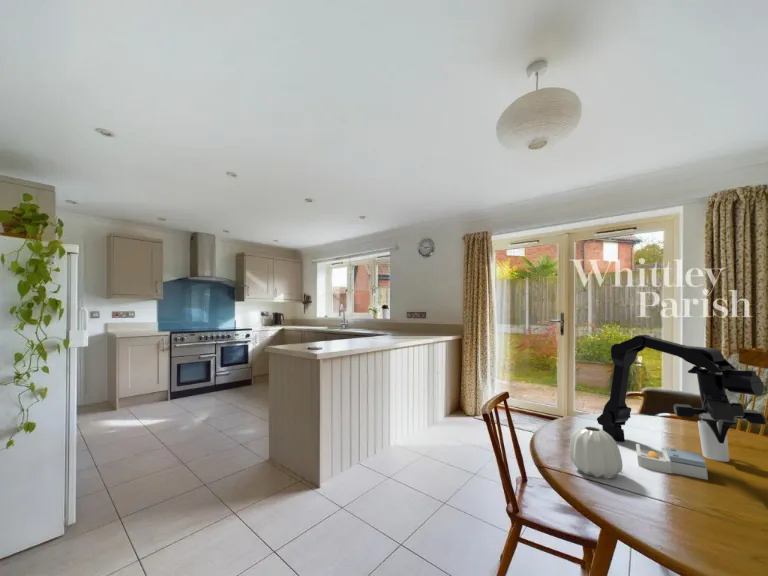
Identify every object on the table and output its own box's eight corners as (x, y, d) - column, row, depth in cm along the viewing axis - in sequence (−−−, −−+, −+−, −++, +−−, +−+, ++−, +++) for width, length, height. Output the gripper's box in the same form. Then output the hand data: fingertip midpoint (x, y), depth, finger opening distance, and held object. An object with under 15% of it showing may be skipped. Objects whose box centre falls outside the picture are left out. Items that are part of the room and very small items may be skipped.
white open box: (639, 469, 101) (637, 456, 101) (636, 450, 115) (635, 439, 115) (709, 483, 91) (707, 469, 92) (696, 461, 105) (695, 449, 106)
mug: (729, 466, 102) (724, 428, 103) (700, 459, 107) (695, 423, 109) (733, 458, 108) (728, 422, 109) (705, 451, 113) (701, 417, 114)
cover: (670, 460, 97) (669, 455, 97) (667, 451, 104) (666, 447, 104) (706, 467, 92) (705, 461, 93) (700, 457, 99) (700, 452, 99)
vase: (606, 487, 90) (602, 439, 92) (561, 468, 103) (558, 425, 104) (633, 477, 96) (628, 431, 97) (587, 459, 108) (584, 419, 110)
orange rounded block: (649, 466, 101) (648, 457, 101) (648, 458, 107) (647, 449, 107) (661, 469, 99) (660, 460, 99) (658, 460, 105) (658, 452, 105)
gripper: (676, 391, 95) (684, 445, 93) (769, 397, 84) (781, 458, 82) (670, 385, 104) (677, 435, 102) (753, 390, 93) (763, 445, 91)
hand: (721, 443), depth 94 cm, fingers closed
